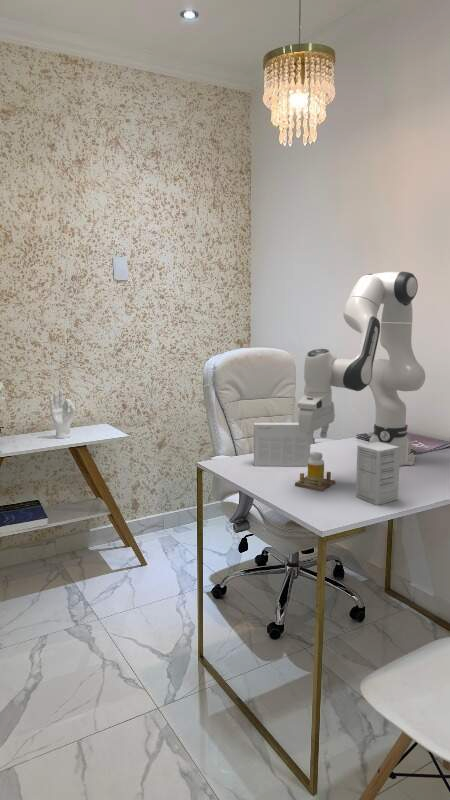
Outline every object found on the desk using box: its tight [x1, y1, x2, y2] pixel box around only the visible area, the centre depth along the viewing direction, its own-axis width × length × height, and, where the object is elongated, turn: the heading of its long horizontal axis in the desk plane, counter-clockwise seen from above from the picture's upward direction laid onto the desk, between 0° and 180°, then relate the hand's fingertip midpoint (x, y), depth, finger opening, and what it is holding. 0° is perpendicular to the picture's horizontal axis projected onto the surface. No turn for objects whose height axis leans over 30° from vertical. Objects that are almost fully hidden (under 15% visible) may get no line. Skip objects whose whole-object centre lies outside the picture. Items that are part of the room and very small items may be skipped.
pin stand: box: [294, 471, 336, 492], centre depth 186 cm, size 10×10×4 cm
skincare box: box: [253, 422, 311, 467], centre depth 208 cm, size 21×5×16 cm, turn 88°
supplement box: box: [355, 442, 400, 506], centre depth 171 cm, size 10×9×17 cm
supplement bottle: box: [306, 451, 325, 484], centre depth 185 cm, size 5×5×10 cm
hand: (317, 440), depth 184 cm, fingers open, 8 cm apart
